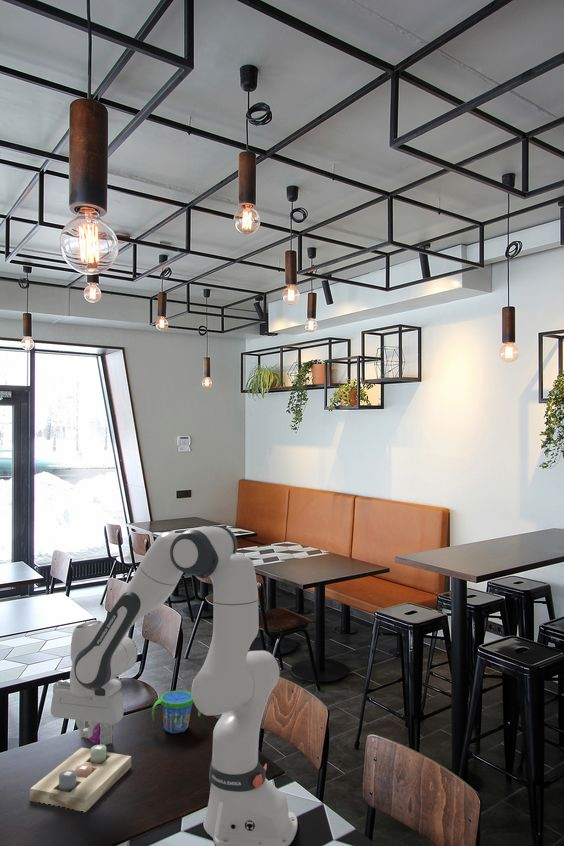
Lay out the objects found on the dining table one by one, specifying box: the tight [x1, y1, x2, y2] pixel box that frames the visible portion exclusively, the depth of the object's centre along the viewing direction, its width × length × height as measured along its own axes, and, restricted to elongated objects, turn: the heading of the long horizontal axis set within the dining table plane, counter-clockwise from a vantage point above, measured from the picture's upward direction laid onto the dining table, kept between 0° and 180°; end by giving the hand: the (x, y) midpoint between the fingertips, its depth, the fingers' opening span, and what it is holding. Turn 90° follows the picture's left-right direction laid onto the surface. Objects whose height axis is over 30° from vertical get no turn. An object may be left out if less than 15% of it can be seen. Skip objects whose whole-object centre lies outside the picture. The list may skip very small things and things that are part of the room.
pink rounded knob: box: [75, 764, 92, 778], centre depth 159 cm, size 4×4×4 cm
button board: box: [29, 747, 132, 813], centre depth 159 cm, size 16×22×3 cm
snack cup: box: [151, 690, 202, 734], centre depth 191 cm, size 16×10×10 cm
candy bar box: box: [83, 721, 114, 747], centre depth 183 cm, size 11×5×16 cm, turn 47°
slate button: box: [59, 770, 77, 792], centre depth 152 cm, size 4×4×4 cm
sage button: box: [90, 744, 107, 765], centre depth 166 cm, size 4×4×4 cm
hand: (86, 736), depth 159 cm, fingers closed
